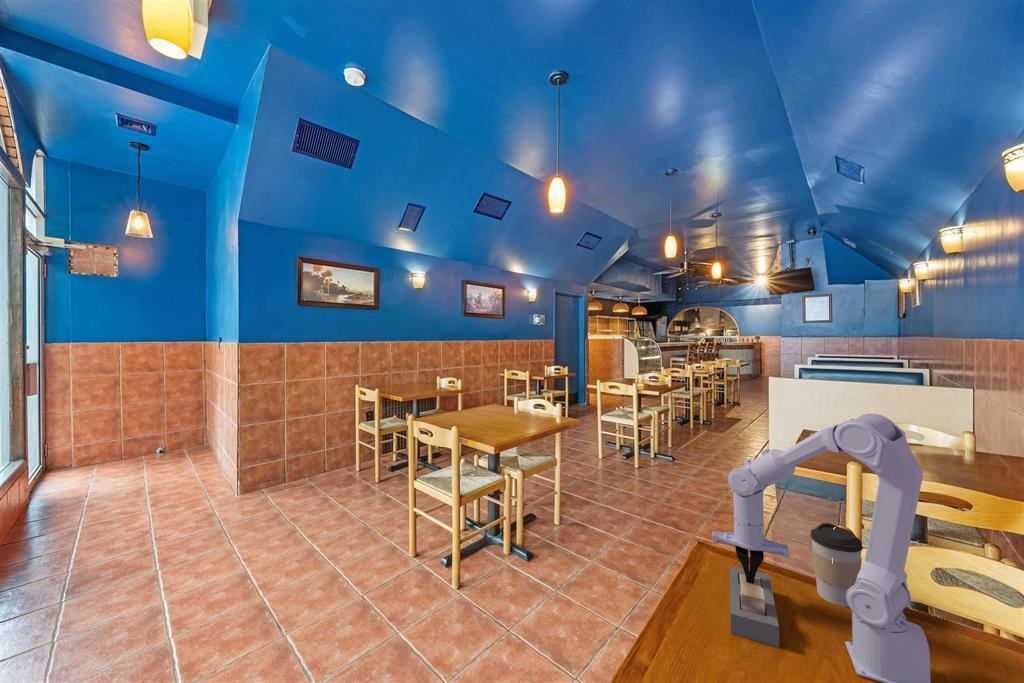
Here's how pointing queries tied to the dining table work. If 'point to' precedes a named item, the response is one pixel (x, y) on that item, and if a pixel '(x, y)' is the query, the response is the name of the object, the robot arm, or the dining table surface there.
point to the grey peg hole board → (749, 622)
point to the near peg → (752, 599)
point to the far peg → (743, 580)
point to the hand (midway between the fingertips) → (749, 580)
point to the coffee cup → (835, 561)
